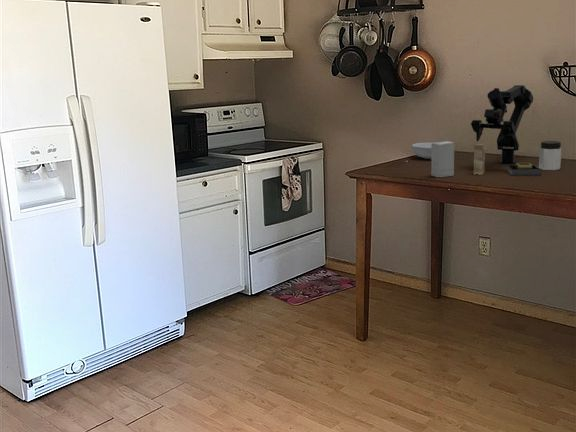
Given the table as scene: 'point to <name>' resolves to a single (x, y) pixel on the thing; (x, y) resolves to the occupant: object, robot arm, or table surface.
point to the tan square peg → (479, 159)
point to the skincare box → (442, 159)
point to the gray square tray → (523, 169)
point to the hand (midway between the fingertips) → (487, 141)
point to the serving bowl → (423, 150)
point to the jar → (550, 155)
